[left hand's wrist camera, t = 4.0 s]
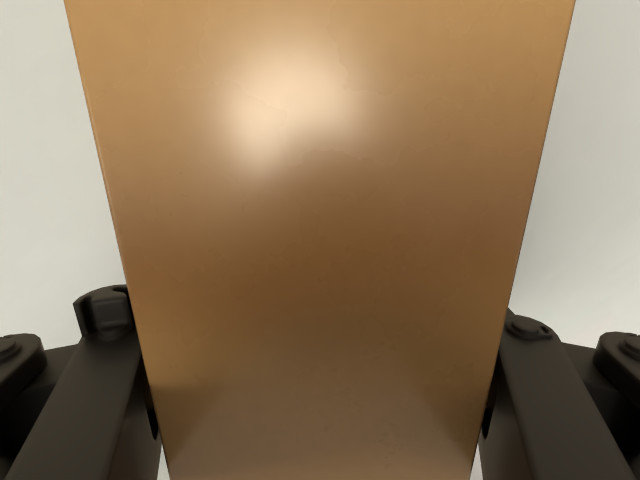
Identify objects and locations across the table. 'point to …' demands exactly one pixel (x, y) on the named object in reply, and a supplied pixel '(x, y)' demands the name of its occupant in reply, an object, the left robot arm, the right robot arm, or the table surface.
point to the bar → (319, 219)
